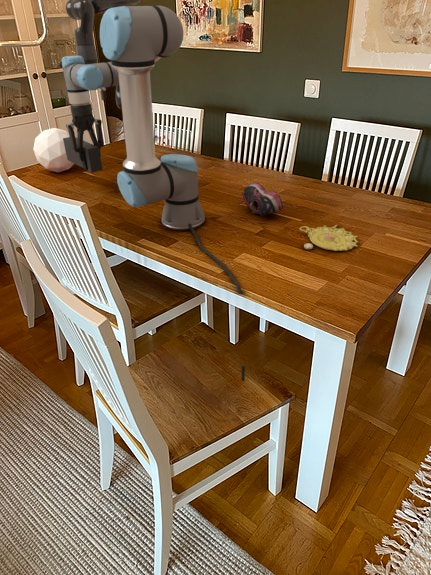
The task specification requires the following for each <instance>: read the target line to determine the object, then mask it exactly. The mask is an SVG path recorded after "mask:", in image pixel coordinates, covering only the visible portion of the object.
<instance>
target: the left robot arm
mask: <svg viewBox="0 0 431 575" xmlns="http://www.w3.org/2000/svg"><path fill="white" fill-rule="evenodd" d="M141 1H142V0H67V2H66V3H65V12H66V14H67V16H68V17H69V19H71V20H74V21H80V24H79V27H76V28H75V29H74V32H73V33H74V38H75V39H74V40H75V45H76V56H82V57H83V59H84V63H85V64H96V63H99V60H98V54H97V48H96V45H95V38H94V28H95V27H94V26H95V16H96V15H100V14H103V13H105V12H106V11H107V10H108V9H110V8H114V7H121V6H135V5H137V4H139V3H140V2H141ZM109 89H110V87H103V88H99V90H100V97H101V101H103V102H104V101H106V100H107V92H106V91H107V90H109ZM115 103H116V106H117V108H118V109H119V110H122V104H121V94H120V85H118V86H115ZM122 128H123V129H122V130H123V131H124V123H123V122H122ZM123 136H124V138H125V133H124V132H123ZM157 138H159V137H158V135H157V134H156V135H155V134H154V141H155V140H156V139H157ZM124 143H125V145H126V142H125V141H124ZM125 156H126V158H127V153H126V155H125Z"/></svg>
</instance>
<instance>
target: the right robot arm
mask: <svg viewBox="0 0 431 575" xmlns="http://www.w3.org/2000/svg"><path fill="white" fill-rule="evenodd" d="M99 41H100V47H101V48H102V53H103V55H104V56H105V58H106V59H107V60H109V61H107V62H98V63H96V64H85V63H84V59H83V57H82V56H77V55H67V56H63V57H61V67H62V68H61V69H62V72H63V77H64V82H65V86H66V92H67V98H68V103H69V104H70V106H69V107H70V113H71V118H72V119H71V122H70V123H66V124H65V127H66V129H67V132H68V133H69V136H70V141H71V146H72V150H73V151H75V152H78V156H79V160H80V161H82V165H83V168H82V169H83V170H86V171H88V167H87V162H86V156H85V152H83V141H84V134H85V131H87V132H88V134H89V138H90V140H91V142H92V144H93V145H95V146H97V147H99V151H100V157H101V158H102V154H101V149H102V148H104V146H105V142H104V136H103V130H102V123H103V120H102V119H99V118H95V117H94V112H93V106H92V103H91V102H92V100H91V94H90V92H91V91H97V90H100V88H103V87H109V88H110V87H116V86H118V85H120V94H121V104H122V109H121V112H122V124H123V123H124V130H123V134H124V133H125V137H124V143H125V142H126V144H125V151H126V154H127V157H126V158H125V159H124V160H123V161H122V170H121V171H119V172H118V173H117V176H116V182H117V186H118V189H119V191H120V194H121V195H122V198H123V200H124V201H125V202H126V203H127V204H128V205H129V206H130V207H132V208H139V207H147V206H148V205H151V204H155V203H159V202H162V201H164V204H163V209H162V213H161V219H160V220H161V225H162V227H163V228H165V229H167V230H170V231H175V232H176V231H177V232H185V231H186V232H187V231H191V232H192V235H193V236H194V238H195V241H196V243H197V246H198V247H199V248H200V250H202V251H203V252H204V253H205V254H206V255H207V256H209V257H210V258H211V259H212V260H214V262H216V263H218V265H219V266H221V267H222V268H223V269H224V270H225V272H226V273H227V274H228V276H229V278H230V279H231V281H232V283H233V284H234V285H235V286H236V290H237V293H238V295H240V296H241V295H242V294H243V291H242V288H241V284H239V282H238V280H237V279H236V278H235V275H233V273H232V271H231V270H230V269H229V268H228V267H227V265H225V263H224V262H222V260H220V259H219V258H217V257H216V256H215V255H213V254H212V253H211V252H210V251H209V250H207V249H206V248H205V247H204V246H203V245H202V244H201V241H200V237H199V236H198V234H197V232H196V230H195V229H198V228H201V227H202V226H203V225H204V224H205V223H206V217H205V212H204V210H203V208H202V204H201V202H200V196H199V176H198V173H199V170H198V164H197V163H198V162H197V160H196V159H195V158H194V157H192V156H191V155H190V156H189V155H187V154H186V155H185V154H178V153H177V154H175V153H171V154H165V155H162V156H160V159H159V158H158V157H157V156H156V145H155V144H156V143H155V140H154V137H155V131H154V115H153V113H154V112H153V100H152V86H151V85H152V83H151V71H152V70H153V68H154V67H155V65H156V62H158V61H159V60H160V59H167V58H170V57H171V56H173V54H175V53H176V52H177V51H178V50H179V49H180V48H181V46H182V44H183V41H184V27H183V24H182V21H181V19H180V18H179V16H178V15H177V13H175V12H174V11H173V10H172V9H171V8H169V7H166V6H164V5H128V6H121V7H114V8H110V9H108V10H107V11H105V12H103V14H102V17H101V20H100V24H99ZM94 125H95V129H94V127H93V126H94ZM75 128H76V134H75V130H74V129H75ZM95 132H96V134H95ZM75 137H76V138H77V143H76V138H75ZM245 377H246V365H241V380H242V381H245V382H246V378H245ZM241 380H240V381H241Z"/></svg>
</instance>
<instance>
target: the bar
mask: <svg viewBox="0 0 431 575" xmlns="http://www.w3.org/2000/svg"><path fill="white" fill-rule="evenodd" d="M75 138H76V143H77V136H75ZM63 141H64V146H65V151H66V156H67V160H69V161H70V162H72V163H74V165H76V166H78V167H80V168H82V169H84V168H83V165H82V161H80V160H79V156H78V152H75V151H73V150H72V146H71V141H70V137H67V138H63ZM83 152H85V156H86V162H87V167H88V170H87V171H88V172H90V173H91V174H92V173H97V172H101V171H103V170H104V168H103V164H102V159H101V158H102V156H101V157H100V153H101V150H100V151H99V147H97V146H95V145H94V144H93V143H90V142H88V141H86V140H83Z"/></svg>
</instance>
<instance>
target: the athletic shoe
mask: <svg viewBox="0 0 431 575" xmlns="http://www.w3.org/2000/svg"><path fill="white" fill-rule="evenodd" d="M241 197H242V199H243V201H238V203H239V204H241V205H245V206H246V207H247V208H248V210H249V211H250V210H251V213H252V214H255V215H260V217H266V216H267V215H270V214H274V213H275V212H279V211H282V210H283V209H284V205H283V201H282V198H281V196H280V195H279V194H278V192H277V191H274V190H269V191H267V190H266V189H265V187H264V186H263V185H262V184H261V183H258V182H251V183H249V184H247V186H246V187H245V188H244V190H243V191H242V192H241Z"/></svg>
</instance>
